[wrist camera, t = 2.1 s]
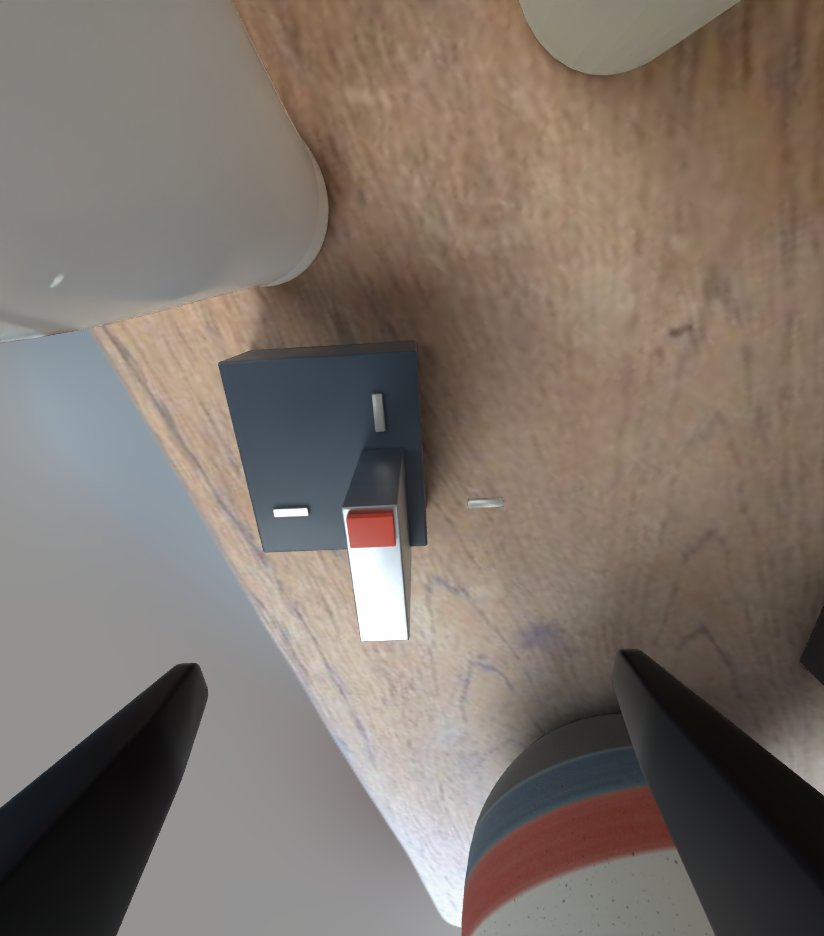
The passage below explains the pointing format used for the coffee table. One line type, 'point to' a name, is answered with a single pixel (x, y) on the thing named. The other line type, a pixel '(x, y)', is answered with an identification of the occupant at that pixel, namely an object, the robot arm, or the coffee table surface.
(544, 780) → the planter
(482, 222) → the coffee table surface
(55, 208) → the drinking glass
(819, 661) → the button box
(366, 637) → the tap handle
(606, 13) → the ice cream cone
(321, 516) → the lever base
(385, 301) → the coffee table surface
